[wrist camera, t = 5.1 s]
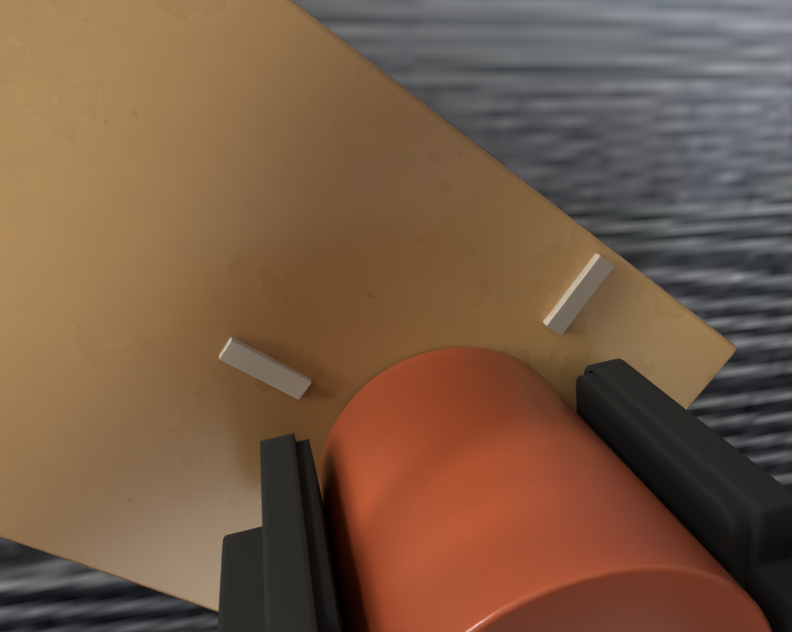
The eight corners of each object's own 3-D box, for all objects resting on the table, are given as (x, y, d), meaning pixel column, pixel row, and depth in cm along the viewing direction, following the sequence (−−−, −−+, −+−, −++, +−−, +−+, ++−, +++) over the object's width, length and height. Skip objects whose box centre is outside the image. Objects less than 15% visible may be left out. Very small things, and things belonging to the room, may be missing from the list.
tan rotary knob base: (669, 312, 15) (773, 372, 12) (438, 596, 16) (480, 711, 13) (77, -139, 9) (2, -230, 7) (-173, 342, 11) (-320, 439, 8)
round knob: (427, 295, 10) (601, 517, 5) (613, 422, 11) (878, 680, 7) (267, 505, 11) (282, 875, 6) (463, 596, 12) (603, 943, 7)
